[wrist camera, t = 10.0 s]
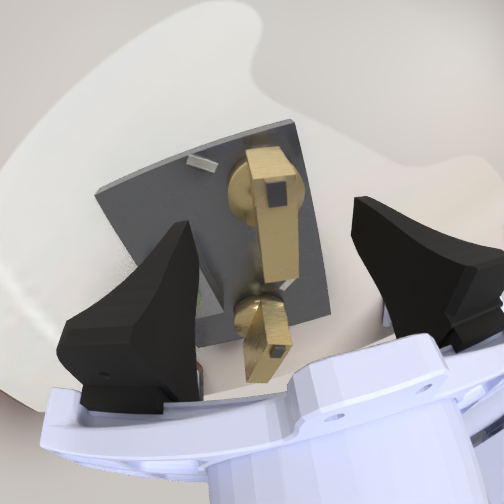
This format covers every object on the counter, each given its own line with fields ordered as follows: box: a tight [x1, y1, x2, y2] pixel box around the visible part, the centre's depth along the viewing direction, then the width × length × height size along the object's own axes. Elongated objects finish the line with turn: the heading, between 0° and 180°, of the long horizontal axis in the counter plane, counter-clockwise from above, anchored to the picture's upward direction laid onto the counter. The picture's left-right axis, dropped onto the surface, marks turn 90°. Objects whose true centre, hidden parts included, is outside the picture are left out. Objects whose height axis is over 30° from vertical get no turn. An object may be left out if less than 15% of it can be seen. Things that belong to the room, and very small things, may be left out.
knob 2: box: [234, 295, 292, 383], centre depth 20 cm, size 5×4×5 cm
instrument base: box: [94, 119, 331, 348], centre depth 19 cm, size 12×16×3 cm
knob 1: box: [227, 146, 305, 283], centre depth 14 cm, size 5×4×5 cm
